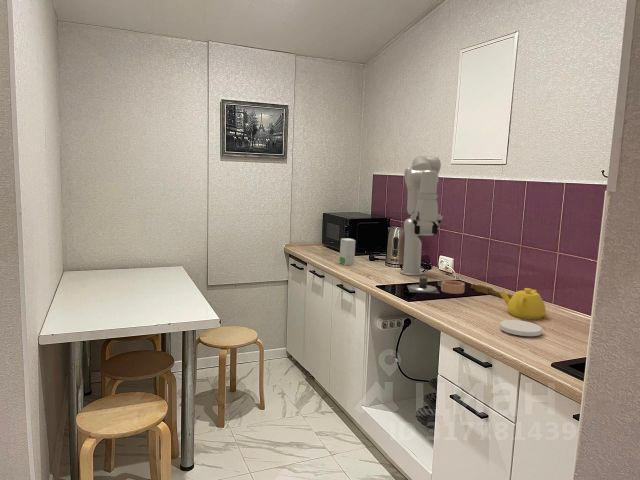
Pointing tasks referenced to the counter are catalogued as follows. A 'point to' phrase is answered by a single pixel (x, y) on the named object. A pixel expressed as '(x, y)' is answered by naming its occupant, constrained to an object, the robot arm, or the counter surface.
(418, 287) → the lid
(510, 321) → the plastic lid
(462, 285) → the bowl
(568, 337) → the counter surface
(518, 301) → the teapot
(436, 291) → the mat
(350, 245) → the white cylinder
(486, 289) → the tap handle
